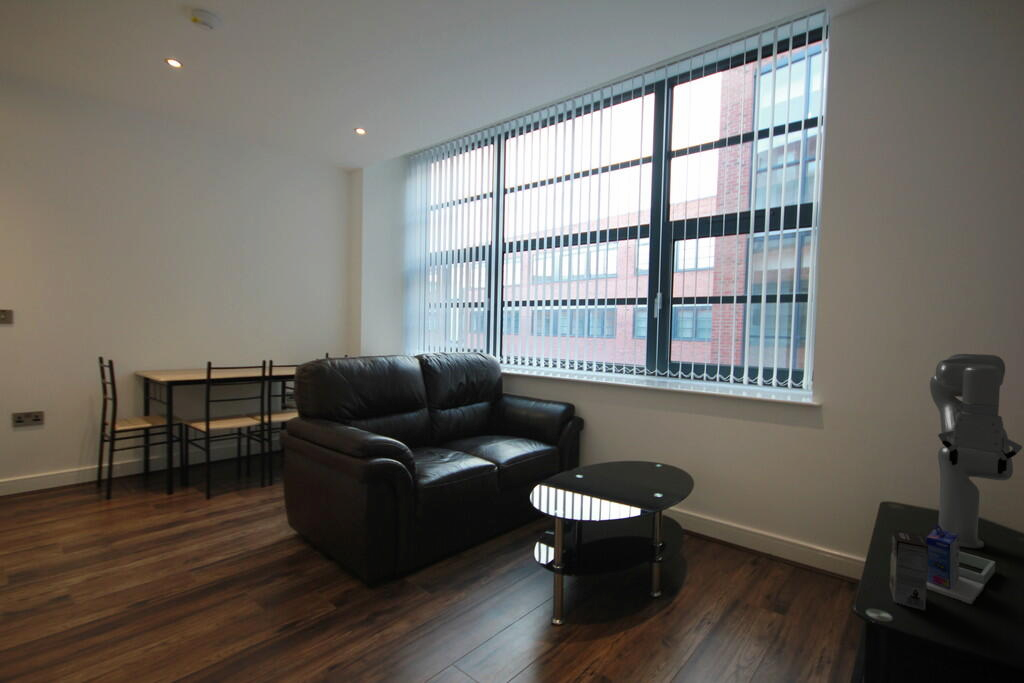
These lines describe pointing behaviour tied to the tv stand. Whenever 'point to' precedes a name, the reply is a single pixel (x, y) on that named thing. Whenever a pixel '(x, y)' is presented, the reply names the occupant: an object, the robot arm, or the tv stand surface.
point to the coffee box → (909, 568)
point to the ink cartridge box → (943, 557)
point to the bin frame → (977, 562)
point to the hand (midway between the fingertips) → (976, 468)
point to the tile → (959, 589)
